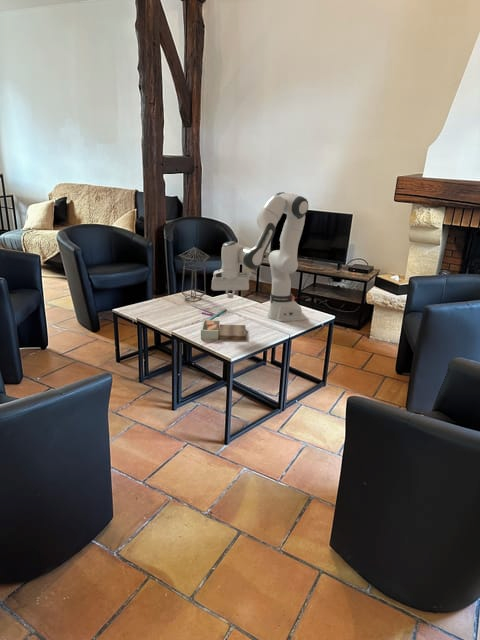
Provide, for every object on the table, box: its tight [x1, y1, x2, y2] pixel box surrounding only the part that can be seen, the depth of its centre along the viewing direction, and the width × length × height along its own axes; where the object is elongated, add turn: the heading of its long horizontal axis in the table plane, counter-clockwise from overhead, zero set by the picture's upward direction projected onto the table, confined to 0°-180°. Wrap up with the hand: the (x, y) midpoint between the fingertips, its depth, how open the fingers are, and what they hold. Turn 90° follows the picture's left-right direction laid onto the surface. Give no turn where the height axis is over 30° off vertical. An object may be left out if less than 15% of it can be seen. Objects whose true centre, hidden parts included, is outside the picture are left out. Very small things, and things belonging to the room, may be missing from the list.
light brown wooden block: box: [207, 321, 214, 329], centre depth 238 cm, size 5×5×4 cm
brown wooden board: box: [218, 324, 247, 341], centre depth 236 cm, size 14×16×2 cm
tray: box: [200, 319, 221, 341], centre depth 236 cm, size 9×16×5 cm, turn 0°
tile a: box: [207, 324, 220, 334], centre depth 232 cm, size 5×5×4 cm
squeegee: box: [201, 308, 228, 320], centre depth 264 cm, size 29×2×10 cm
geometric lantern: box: [178, 246, 211, 303], centre depth 288 cm, size 16×16×35 cm
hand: (230, 297), depth 237 cm, fingers closed
